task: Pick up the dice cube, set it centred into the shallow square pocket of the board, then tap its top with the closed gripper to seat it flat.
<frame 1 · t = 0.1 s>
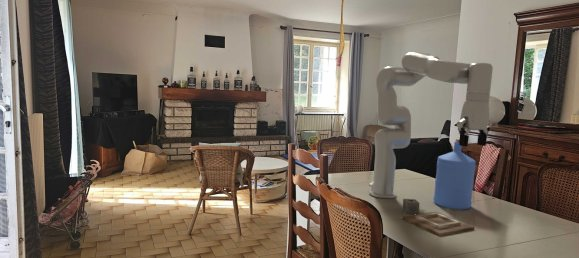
hand: (472, 145, 138), 31 cm above the table, fingers open, 9 cm apart
water jug: (451, 204, 172), on the table
dice cube: (410, 213, 158), on the table
pocket board: (437, 224, 145), on the table
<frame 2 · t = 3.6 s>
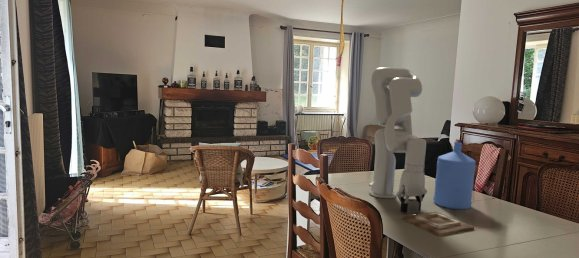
hand: (410, 210, 158), 1 cm above the table, fingers closed on dice cube, 6 cm apart
dice cube: (410, 212, 158), on the table, touching gripper
everything else where it was.
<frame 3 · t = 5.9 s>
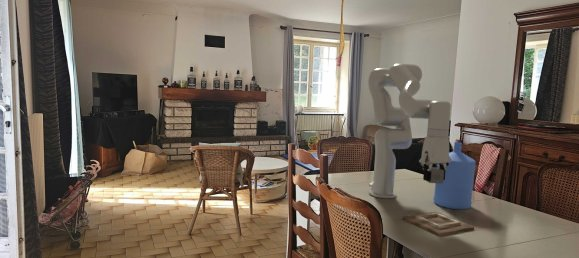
hand: (433, 179, 146), 16 cm above the table, fingers closed on dice cube, 6 cm apart
dice cube: (433, 182, 147), point 15 cm above the table, touching gripper
everything else where it was.
when the fingers open (3 cm above the table, at t = 8.2 s): dice cube drops 1 cm, resting on pocket board.
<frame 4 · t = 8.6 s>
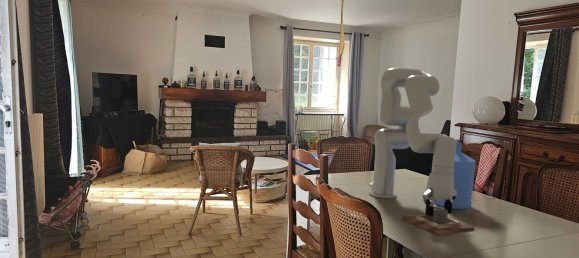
hand: (438, 214, 145), 4 cm above the table, fingers open, 9 cm apart
dice cube: (437, 221, 145), point 1 cm above the table, touching pocket board
everything else where it was.
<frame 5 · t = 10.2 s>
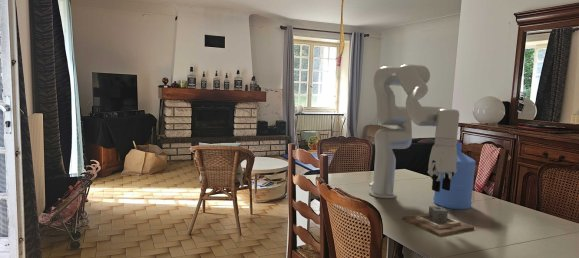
hand: (440, 189, 144), 13 cm above the table, fingers open, 4 cm apart
nothing on the table moved.
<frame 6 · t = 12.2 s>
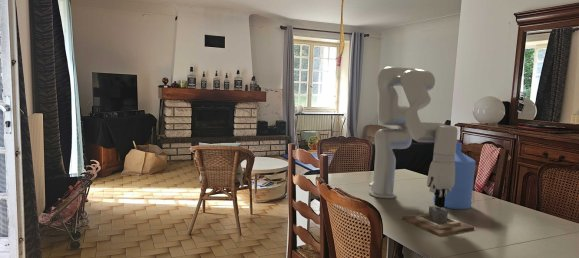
hand: (439, 206, 144), 7 cm above the table, fingers closed
nothing on the table moved.
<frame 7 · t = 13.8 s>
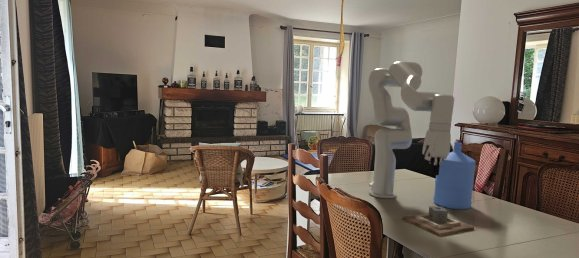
hand: (433, 174, 147), 18 cm above the table, fingers closed
nothing on the table moved.
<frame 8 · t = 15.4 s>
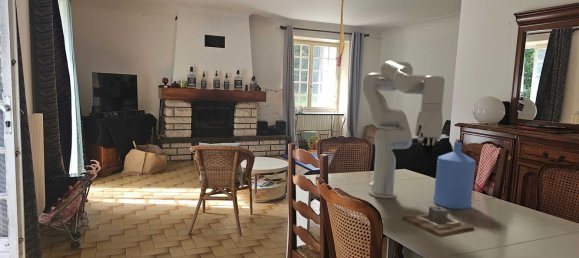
hand: (427, 155, 149), 25 cm above the table, fingers closed
nothing on the table moved.
at the end: dice cube 0.2 cm off-centre on the pocket board, point 0.8 cm above the pocket board's base; dice cube tilted 0°; the gripper is holding nothing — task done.
